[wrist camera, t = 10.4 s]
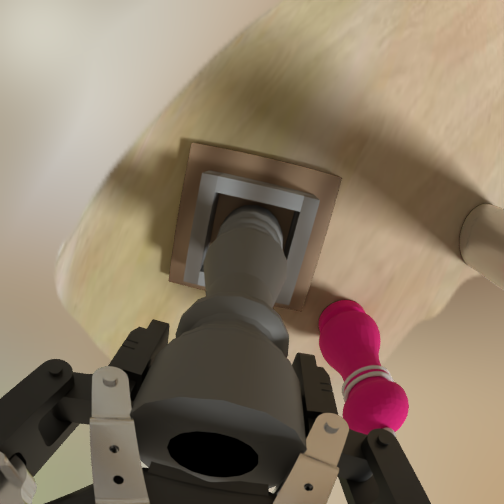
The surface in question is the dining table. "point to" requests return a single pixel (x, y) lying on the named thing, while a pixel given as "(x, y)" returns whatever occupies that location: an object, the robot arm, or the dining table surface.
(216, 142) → the dining table surface
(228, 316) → the candle holder
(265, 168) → the socket board
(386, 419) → the pepper mill
